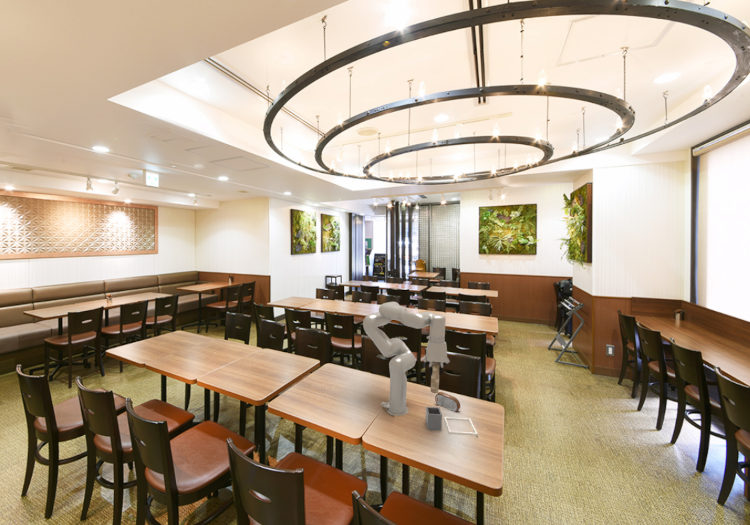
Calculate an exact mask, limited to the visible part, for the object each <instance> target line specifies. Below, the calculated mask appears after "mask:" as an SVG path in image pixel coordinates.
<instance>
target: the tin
mask: <svg viewBox="0 0 750 525" xmlns="http://www.w3.org/2000/svg"><path fill="white" fill-rule="evenodd" d="M434 401H435V403H436V405H437V406H439V407H443V408H445V409H447V410H451V411H452V412H454V413H457V412H458V411H460V409H461V402H460V401H459V399H458V398H457V397H455V396H454V395H450V394H448V393H445V392H443V391H440V392H439V391H438V393H436V395H435V397H434Z"/></svg>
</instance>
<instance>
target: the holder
mask: <svg viewBox="0 0 750 525" xmlns="http://www.w3.org/2000/svg"><path fill="white" fill-rule="evenodd" d="M442 423H443V413H442V411H441V408H440V407H437V406H435V407H434V406H425V425H426V430H427V431H440V432H442V425H443V424H442Z"/></svg>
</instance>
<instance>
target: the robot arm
mask: <svg viewBox="0 0 750 525" xmlns="http://www.w3.org/2000/svg"><path fill="white" fill-rule="evenodd" d="M392 320H395V321H398V322H400V323H401V324H402V325H404V326H406V327H409V328H413V329H424V328H426V327H429V335H427V336H426V339H427V340H428V341H427V343H426V350H425V355H424V356H423V357H422V359H421V360H422V361H423V362H424V363H426V365H427V366H428V373H429V374H430V376H431V375H432V364H433V363H438V364H439V365H440V371H439V376H442V374H443V368H444V367H445V366H446V365H447V364H449V363H450V362H451V361H450V359H449V357H448V354H447V353H448V349H447V348H448V347H447V342H446V341H445V340H446V339H445V337H446V336H445V335H446V316H445V315H443V314H440V313H439V314H437V313H434V312H433V311H432V312H431V311H422V312H419V313H414V312H408V309H407V307H406V306H403V305H400V304H399V303H398V302H397V301H388V302H384V303H381V305H380V306H379V307H378V312H374V313H373V312H372V313H369V314H368V315H366V316H365V317H364V318H363V322H362V326H363V330H364V333H365V334H366V335H367V336H368V338H370V339H371V341H372V342H373V344H374V345H375V346H376V348H377V349H378V350H379V352H380V353H381V354H382V356H383V357H385V358H391V359H390V361H389V363H388V366H389V367H388V368H389V375H390V376H389V399H388V401H386V402H385V401H381V402H380V403H381V404H380V405H381V407H383V408H386V412H387V413H388V414H389V415H390V416H393V417H395V416H404V415H406V414H408V413H409V411H410V410H409V407H408V406H407V390H408V389H407V388H408V378H407V375H406V372H407V371H409V370H411V369H412V368H414V367H415V365H416V357H415V355H414V354H413V352H412V351H411V350H410V348H409V347H408V346H407V345H406V343H405V342H404V341H403V340H402V339H400V338H398V337H392V338H389V336H388V335H387V334H386V333H385V332H384V330H382V329H380V328H378V327H381V326H385V325H388V324H389V323H390V322H392ZM393 356H394V357H393Z"/></svg>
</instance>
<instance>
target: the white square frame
mask: <svg viewBox="0 0 750 525" xmlns="http://www.w3.org/2000/svg"><path fill="white" fill-rule="evenodd" d="M443 419H444V423H445V425H446V429H447V431H448V434H450V435H466V436H475V437H476V438H478V434H479V433H478V431H477V428H476V427H475V426H474V423H473V421H472V418H471V417H469V418H467V417H454V416H453V417H450V416H444V417H443ZM448 421H464V422H465V421H466V422H467V421H468V422H469V425H470V426H471V429H472V431H473V432H472V431H471V432H469V431H456V430H455V431H453V430H451V429H450V426H449V422H448Z"/></svg>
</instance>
